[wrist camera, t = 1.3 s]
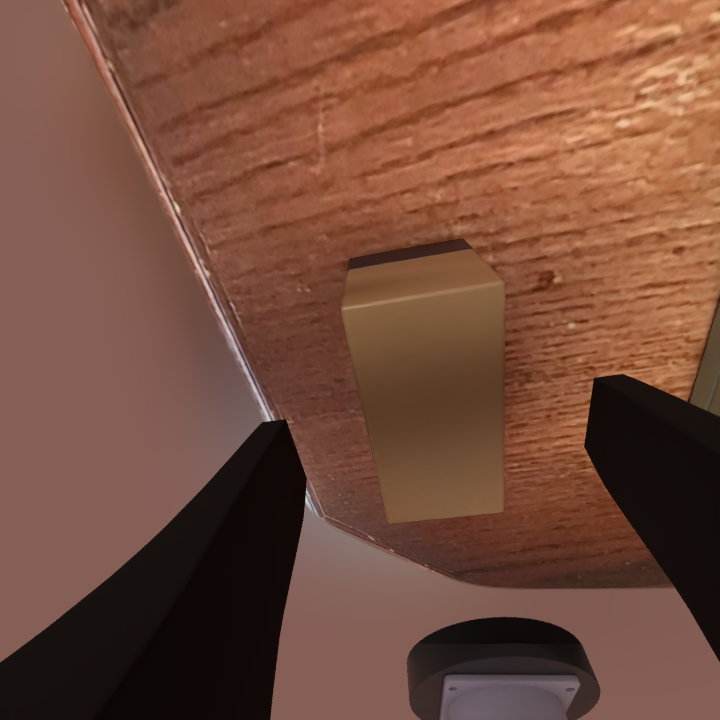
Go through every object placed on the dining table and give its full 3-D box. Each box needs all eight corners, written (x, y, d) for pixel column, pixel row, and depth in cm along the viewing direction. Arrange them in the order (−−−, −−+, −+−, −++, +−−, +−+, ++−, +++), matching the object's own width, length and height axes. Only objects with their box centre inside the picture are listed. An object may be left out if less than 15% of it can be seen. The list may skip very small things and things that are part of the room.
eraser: (472, 424, 14) (505, 513, 11) (383, 435, 15) (387, 525, 11) (463, 237, 11) (506, 280, 7) (348, 258, 11) (339, 307, 8)
